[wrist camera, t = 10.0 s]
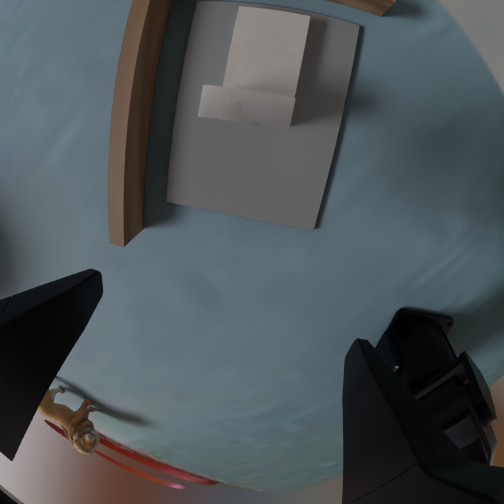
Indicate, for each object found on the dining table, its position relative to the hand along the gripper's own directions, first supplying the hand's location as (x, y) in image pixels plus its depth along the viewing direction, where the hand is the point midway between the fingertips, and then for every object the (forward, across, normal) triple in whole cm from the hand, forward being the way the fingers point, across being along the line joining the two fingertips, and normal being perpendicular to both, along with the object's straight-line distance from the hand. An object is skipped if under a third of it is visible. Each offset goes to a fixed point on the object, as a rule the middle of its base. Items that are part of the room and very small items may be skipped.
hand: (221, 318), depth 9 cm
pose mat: (+11, +2, -6) cm, 13 cm away
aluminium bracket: (+10, +2, -9) cm, 14 cm away
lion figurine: (+11, +22, +36) cm, 44 cm away
